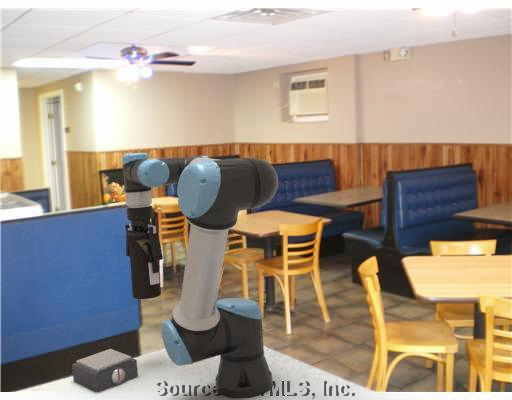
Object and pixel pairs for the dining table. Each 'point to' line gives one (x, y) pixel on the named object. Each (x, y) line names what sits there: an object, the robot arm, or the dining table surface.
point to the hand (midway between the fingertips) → (146, 281)
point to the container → (141, 266)
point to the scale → (104, 370)
